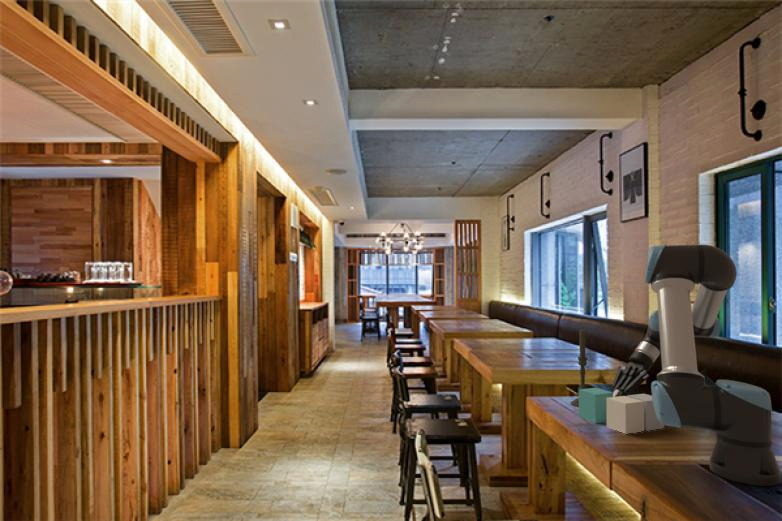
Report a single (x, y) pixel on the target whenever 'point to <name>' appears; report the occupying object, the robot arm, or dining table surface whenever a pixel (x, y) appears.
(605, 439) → the dining table surface
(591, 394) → the teal block
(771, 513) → the dining table surface
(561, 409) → the dining table surface
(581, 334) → the candlestick holder
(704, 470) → the dining table surface
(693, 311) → the robot arm
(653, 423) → the grey block
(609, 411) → the cream block
